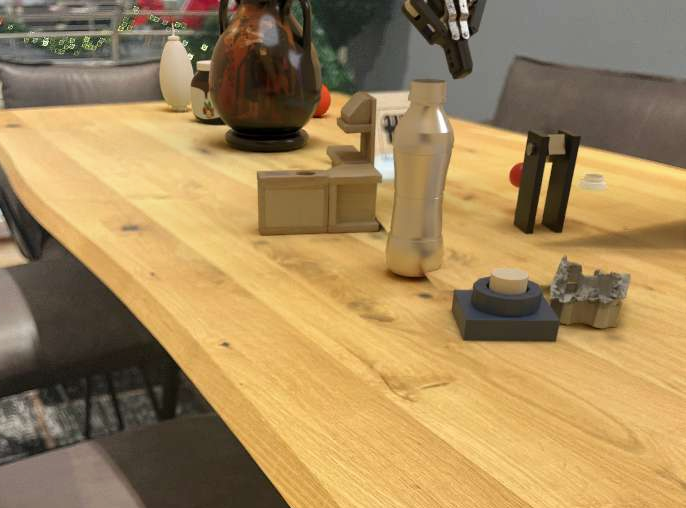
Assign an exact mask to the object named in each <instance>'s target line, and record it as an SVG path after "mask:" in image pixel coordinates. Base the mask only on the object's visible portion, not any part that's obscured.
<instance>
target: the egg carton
mask: <svg viewBox="0 0 686 508" xmlns="http://www.w3.org/2000/svg"><path fill="white" fill-rule="evenodd" d="M568 282H571V283H568ZM572 282H573V283H572ZM630 283H631V273H619V272H614V270H611V271H610V273H603V272H602V271H601V269H595V270H594V271H593V275H591V274H583V265H582V264H581V263H579V262H575V261H569V260H568V255H563V256H562V258H561V260H560V262H559V264H558V267H557V270H556V273H555V274H554V276H553V279H552V282H551V284H550V285H549V286H550V289H549V290H550V291H549V292H550V293H549V294H550V297H549V302H550V306H551V308H552V309H553V311H554V312H555V314H556V315H557V317H558V318H559V320H560V324H562V325H567V326H570V325H571V324H586V325H588V326H591V327H593V328H597V329H607V328H617V325H618V321H619V318H620V313H621V311H622V310H621V309H622V305H623V302H622V300H624V299H627V296H628V290H629V286H630Z"/></svg>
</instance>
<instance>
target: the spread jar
mask: <svg viewBox="0 0 686 508" xmlns="http://www.w3.org/2000/svg"><path fill="white" fill-rule="evenodd" d="M210 63H211V60H210V59H209V60H199V61H196V70H197V71H196V73H195V74H194V77H193V78H192V81H191V85H190V92H191V104H190V105H191V110H192V114H193V116H194V117H195V118H196V120H197V121H199V123H201V124H204V125H226V124H225V122H224V121H223V120H222V119H221V118H220V116H219V115H218V113H217V112H216V110H215V108H214V106H213V103H212V100H211V98H210V92H209V82H208V81H209V70H210Z"/></svg>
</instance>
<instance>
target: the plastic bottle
mask: <svg viewBox="0 0 686 508" xmlns="http://www.w3.org/2000/svg"><path fill="white" fill-rule="evenodd" d="M409 83H410V84H409V94H408V96H407V101H409V102H410V104H409V107H408V108H407V110H406V111H405V112H404V114H403V115H402V116H401V117H400V119H399V121H398V122H397V124H396V125H395V127H394V129H393V132H392V136H391V138H392V143H391V145H392V160H393V170H394V171H393V173H394V176H393V177H394V178H393V179H394V183H393V187H394V192H393V206H392V214H391V221H390V228H389V229H390V230H389V232H388V235H387V239H386V245H385V250H384V252H385V260H386V261H385V262H386V265H387V267H388V269H389V270H390V272H392V273H394V274H395V275H399V276H403V277H408V278H409V277H410V278H424V277H427V275H426V273H430V272H434V271H437V270H438V269H440V268H441V267H442V266H441V265H442V263H443V262H442V261H443V258H444V254H445V252H444V250H445V249H444V248H445V247H444V236H443V207H444V205H443V204H444V196H445V194H444V191H445V189H446V184H447V183H446V182H447V175H448V171H449V168H450V167H449V166H450V164H451V163H450V162H451V158H452V154H453V149H454V144H455V140H456V139H455V133H454V128H453V126H452V123H451V121H450V119H449V116H448V115H447V113H446V112H445V109H444V106H443V105H444V104H443V103H446V102H447V87H448V81H447V80H444V79H436V78H415V79H411V80H410V82H409Z"/></svg>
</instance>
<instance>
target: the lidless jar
mask: <svg viewBox="0 0 686 508" xmlns="http://www.w3.org/2000/svg"><path fill="white" fill-rule="evenodd" d="M607 186H608V185H607V183H606V180H605V175H603V174H600V173H584V175H583V177H582V179H580V180H579V181H578V183H577V184H576V188H577V189H580V190H583V191H589V192H604V191H607V190H608V187H607Z"/></svg>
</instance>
